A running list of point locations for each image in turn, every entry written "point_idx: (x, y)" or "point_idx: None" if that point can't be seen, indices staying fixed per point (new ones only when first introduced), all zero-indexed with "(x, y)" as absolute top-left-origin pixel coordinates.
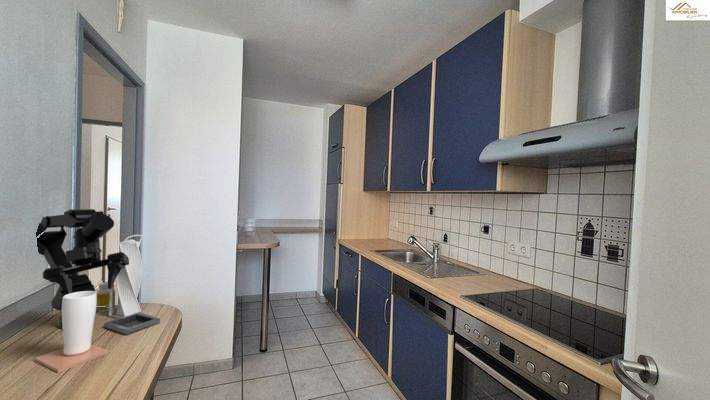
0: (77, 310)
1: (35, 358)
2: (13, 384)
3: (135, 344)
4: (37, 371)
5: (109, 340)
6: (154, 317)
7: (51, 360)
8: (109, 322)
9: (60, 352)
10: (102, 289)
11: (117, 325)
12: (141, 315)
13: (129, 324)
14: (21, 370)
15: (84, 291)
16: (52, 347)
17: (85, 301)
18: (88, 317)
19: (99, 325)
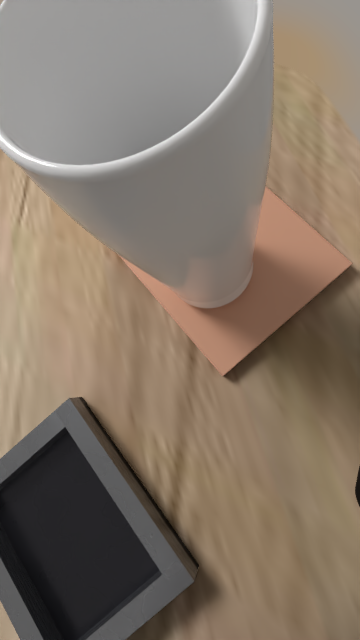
0: (136, 49)
1: (348, 260)
2: (319, 113)
3: (40, 289)
4: (290, 177)
5: (134, 370)
6: None
7: (273, 220)
8: (167, 573)
9: (273, 283)
10: None
11: (118, 493)
12: (30, 614)
13: (84, 534)
14: (353, 200)
15: (104, 166)
16: (347, 388)
17: (62, 7)
18: (112, 148)
19: (235, 630)
